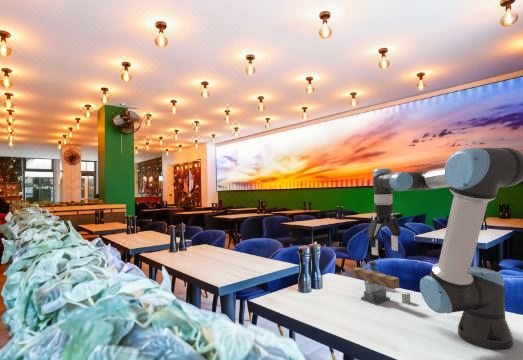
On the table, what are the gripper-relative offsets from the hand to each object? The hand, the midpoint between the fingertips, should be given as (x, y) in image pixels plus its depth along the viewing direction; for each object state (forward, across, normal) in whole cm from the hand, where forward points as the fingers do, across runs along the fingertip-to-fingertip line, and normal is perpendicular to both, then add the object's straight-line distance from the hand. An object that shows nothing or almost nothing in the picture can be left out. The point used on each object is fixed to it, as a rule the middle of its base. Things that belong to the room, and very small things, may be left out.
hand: (385, 252), depth 139 cm
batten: (+14, 0, -6) cm, 16 cm away
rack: (+22, -8, -6) cm, 25 cm away
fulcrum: (+22, 0, -6) cm, 23 cm away
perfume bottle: (+22, -15, -19) cm, 33 cm away
